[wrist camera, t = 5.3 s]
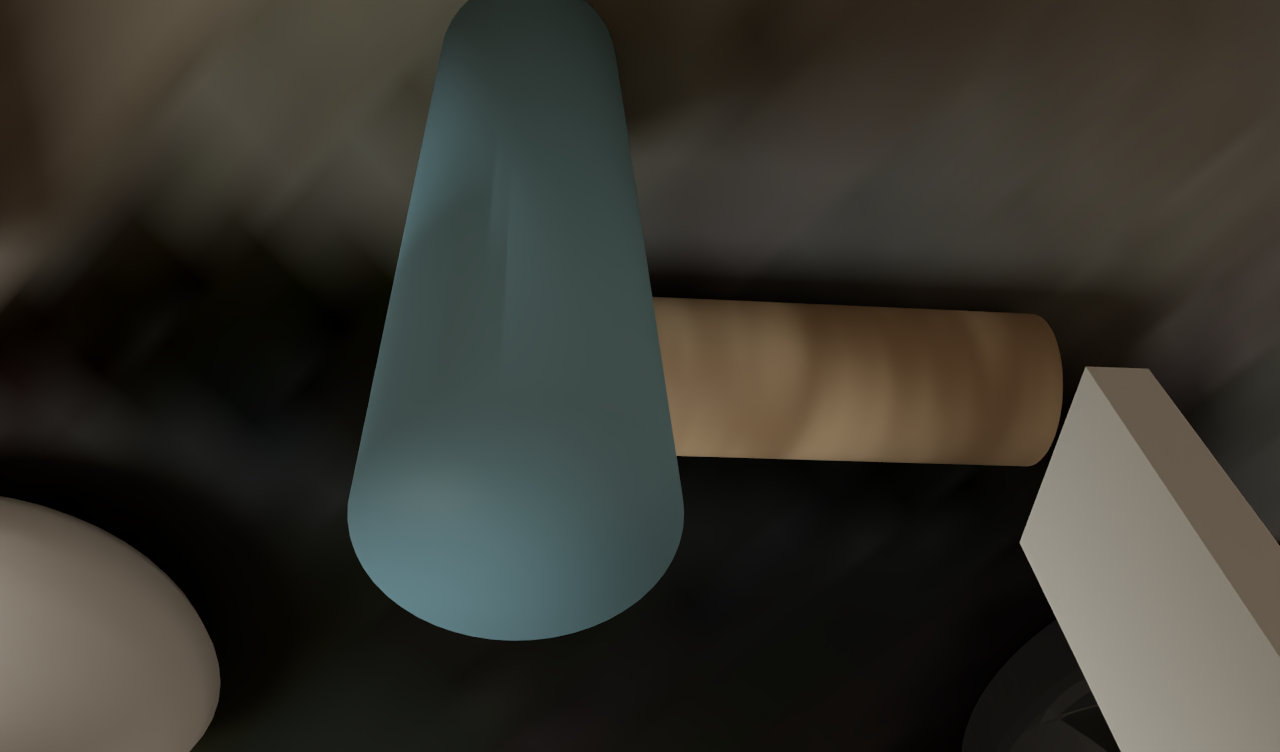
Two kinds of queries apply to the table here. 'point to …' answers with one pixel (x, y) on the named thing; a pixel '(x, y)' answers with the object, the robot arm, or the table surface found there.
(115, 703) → the flower in vase
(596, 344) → the peg
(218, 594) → the table surface
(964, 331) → the lying peg
